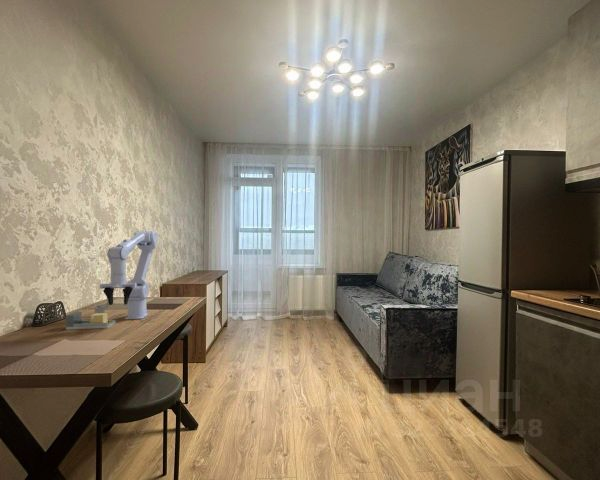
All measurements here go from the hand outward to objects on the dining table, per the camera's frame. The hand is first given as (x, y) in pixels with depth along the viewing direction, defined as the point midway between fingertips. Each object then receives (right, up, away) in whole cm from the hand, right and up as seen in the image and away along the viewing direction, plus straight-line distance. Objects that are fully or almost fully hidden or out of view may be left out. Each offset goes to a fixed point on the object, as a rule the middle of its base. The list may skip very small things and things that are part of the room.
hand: (118, 304), depth 140 cm
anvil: (-18, -10, -2) cm, 21 cm away
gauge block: (-8, -8, -1) cm, 11 cm away
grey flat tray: (-12, -10, 0) cm, 15 cm away
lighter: (-18, -10, +19) cm, 28 cm away
